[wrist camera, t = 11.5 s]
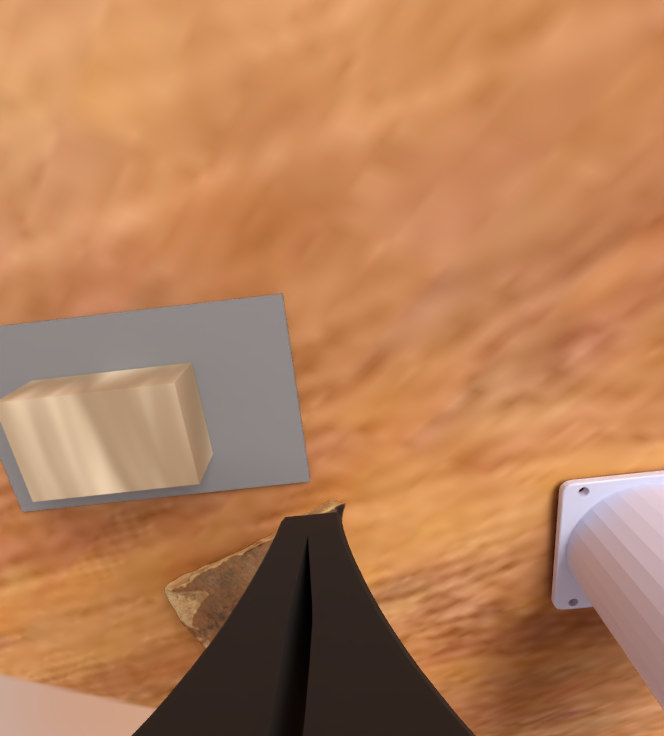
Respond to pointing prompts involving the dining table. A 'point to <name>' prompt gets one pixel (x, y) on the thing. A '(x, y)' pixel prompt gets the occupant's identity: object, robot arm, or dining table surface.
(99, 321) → the felt mat
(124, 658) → the dining table surface
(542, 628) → the dining table surface
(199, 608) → the shard
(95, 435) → the beech block
